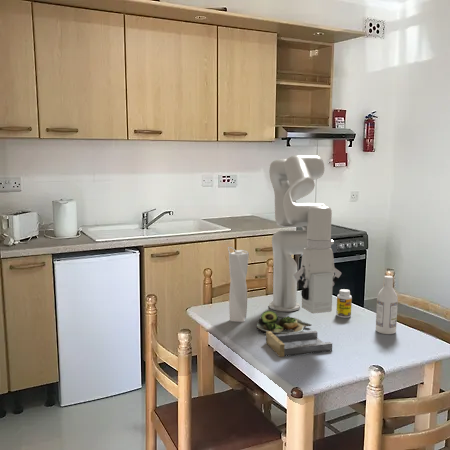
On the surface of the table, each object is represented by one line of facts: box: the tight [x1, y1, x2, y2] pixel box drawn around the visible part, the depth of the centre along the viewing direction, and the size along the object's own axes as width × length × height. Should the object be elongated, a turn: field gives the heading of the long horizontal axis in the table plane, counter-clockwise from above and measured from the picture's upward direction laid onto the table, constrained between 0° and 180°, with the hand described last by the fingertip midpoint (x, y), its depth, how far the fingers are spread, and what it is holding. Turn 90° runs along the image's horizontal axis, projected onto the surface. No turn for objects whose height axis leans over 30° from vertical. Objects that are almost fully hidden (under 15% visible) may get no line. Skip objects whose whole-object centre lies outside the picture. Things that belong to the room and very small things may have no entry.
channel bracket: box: [265, 330, 333, 358], centre depth 163 cm, size 12×18×4 cm, turn 106°
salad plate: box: [256, 310, 312, 335], centre depth 181 cm, size 19×18×5 cm
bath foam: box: [375, 275, 399, 335], centre depth 177 cm, size 7×7×20 cm
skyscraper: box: [227, 246, 250, 323], centre depth 188 cm, size 8×8×28 cm
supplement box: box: [301, 273, 334, 314], centre depth 162 cm, size 7×7×13 cm
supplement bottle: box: [336, 288, 353, 319], centre depth 194 cm, size 6×6×10 cm
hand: (316, 297), depth 163 cm, fingers closed on supplement box, 7 cm apart
